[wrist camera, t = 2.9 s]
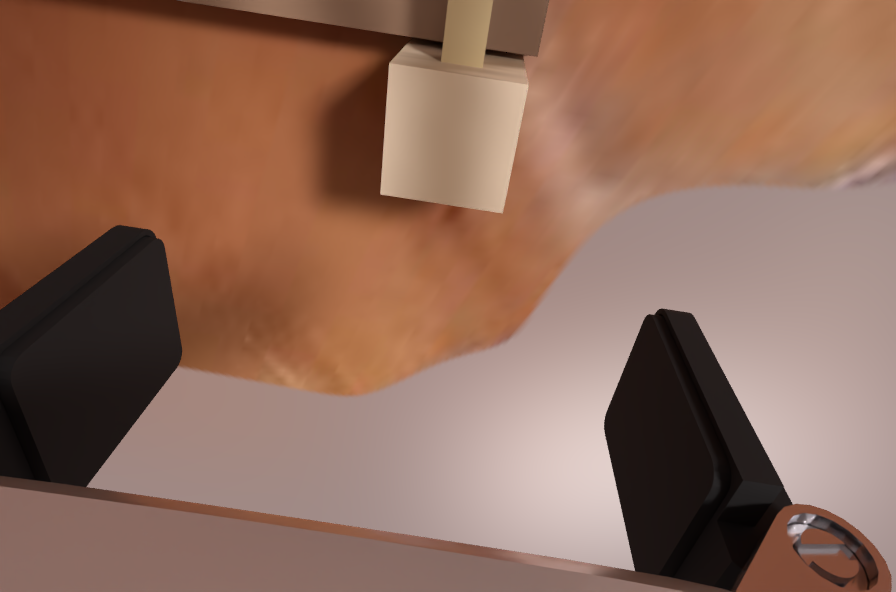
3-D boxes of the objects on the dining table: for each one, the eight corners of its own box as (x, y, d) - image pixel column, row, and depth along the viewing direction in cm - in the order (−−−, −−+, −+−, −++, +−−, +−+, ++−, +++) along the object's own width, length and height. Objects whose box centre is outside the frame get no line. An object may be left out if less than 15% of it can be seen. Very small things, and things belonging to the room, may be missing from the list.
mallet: (565, -168, 20) (587, -204, 15) (502, 163, 27) (502, 213, 22) (431, -189, 20) (408, -233, 15) (402, 147, 27) (380, 194, 22)
